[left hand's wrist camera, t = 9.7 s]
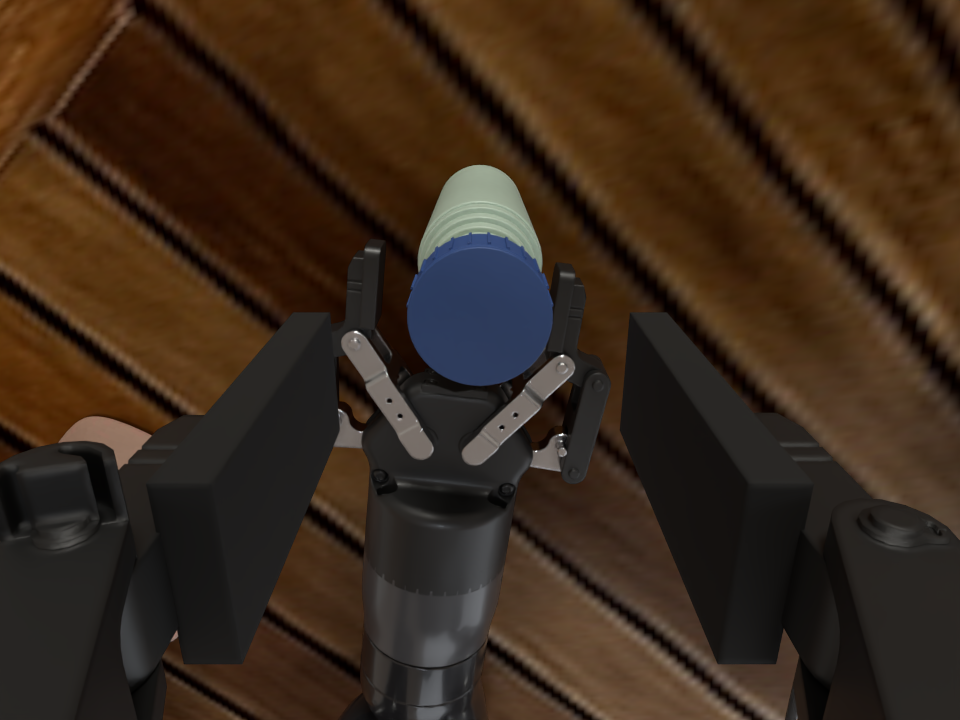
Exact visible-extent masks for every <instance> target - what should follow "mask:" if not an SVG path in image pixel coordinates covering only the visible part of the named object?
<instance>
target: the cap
mask: <svg viewBox="0 0 960 720" xmlns="http://www.w3.org/2000/svg"><path fill="white" fill-rule="evenodd" d="M547 289H549V286H548V283H547V280H546V278H545V275H544V273H543V274H542V273H541V271H540V269H539V266H538V263H537V260H536V259H535V258H534V259H533V258H532V257H531V256H530V255H529V254H528V253H527V252H526V251H525V249H524V247H523V246H521V247H520V246H518V245H517V244H515V243H514V242H512V241H510V240H508V237H505V238H503V237H500V236H496V235H491V234H490V232H487V234H472V232H470V233H469V235H464V236H460V237H457V238H455V239H454V237H452V238H451V240H450V241H448V242H446V243H444V244H443V245H442V246H440V247H438V246H437V247H435V251H434V252H433V253H432V254H431V255H430V256H429V257H428V258H427V260H426V259H424V260H423V262H422V265H421V268H420V271H419V273H418V275H417V274H416V275H415V277H414V280H413V283H412V286H411V290H412V291H411V294H410V297H409V300H408V303H407V307H408V310H407V324H408V329H409V333H410V337H411V340H412V342H413V345H414V347H415V348H416V350H417V352H418V354H419V355H420V356H421V358H422V359H423V360H424V361H425V362H426V363H427V364H428V365H429V366H430V367H431V368H432V369H433V370H435V371H436V372H437V373H439V374H440V375H442V376H444V377H446V378H448V379H450V380H452V381H455V382H458V383H462V384H467V385H475V386H485V385H493V384H499V383H502V382H505V381H508V380H510V379H512V378H514V377H516V376H518V375H520V374H521V373H523V372H524V371H525V370H527V369H528V368H529V367H530V366H531V365H532V364H533V363H534V362H535V361H536V360H537V359H538V357H539V356H540V355H541V353H542V352H543V350H544V348H545V346H546V345H547V342H548V339H549V337H550V333H551V329H552V324H553V311H552V307H553V302H552V299H551V296H550V294H549V291H548V290H547Z"/></svg>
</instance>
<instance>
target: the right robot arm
mask: <svg viewBox="0 0 960 720" xmlns="http://www.w3.org/2000/svg"><path fill="white" fill-rule="evenodd" d="M385 255H386V241H384V240H376V239H370V240H369V241H368V242H367V244H366V245H365V249H364V251H360V250H359V251H358V252H357V253H356V254H355V256H354V257H353V259H352V261H351V263H350V265H349V267H348V279H347V280H348V281H347V298H346V318H345V320H344V321H342V322H339V323H334V324H331V330H332V342H333V354H334V365H335V377H336V389H337V400H338V412H339V423H340V432H339V434H338V436H337V439H336V441H335V444H334V446H333V447H348V448H363V451H364V452H365V454H366V456H367V458H368V461H369V465H370V476H369V490H368V504H367V517H366V531H365V545H364V560H363V573H362V598H363V607H364V624H363V637H362V652H361V664H360V679H361V686H362V692H363V693H362V694H360V695H359V696H358V697H356V698H355V699H354V700H353V701H352V702H351V703H350V704H349V705H348V707H347V708H346V709H345V710H344V712H343V713H342V714H341V716H340V717H339V719H338V720H488V714H487V708H486V701H485V695H484V690H483V686H482V682H481V674H482V669H483V663H484V657H485V651H486V645H487V639H488V632H489V628H490V624H491V621H492V618H493V616H494V613H495V610H496V607H497V603H498V599H499V594H500V588H501V582H502V576H503V570H504V564H505V558H506V552H507V546H508V541H509V535H510V529H511V523H512V517H513V511H514V505H515V499H516V493H517V487H518V483H519V481H520V479H521V477H522V475H523V474H524V473H525V472H526V471H527V470H528V468H529V467H536V468H542V469H548V470H554V471H560V472H561V475H562V478H563V480H564V481H566V482H567V483H570V484H576V483H579V482H581V481H582V480H583V479H584V478H585V476H586V473H587V469H588V466H589V462H590V458H591V455H592V451H593V448H594V444H595V441H596V437H597V434H598V430H599V426H600V423H601V419H602V416H603V412H604V409H605V405H606V401H607V398H608V394H609V391H610V387H611V382H610V379H609V377H608V375H607V373H606V370H605V368H604V366H603V364H602V362H601V360H600V358H599V357H597V356H596V355H588V354H586V353H584V352H582V351H580V350H578V349H577V343H578V338H579V333H580V328H581V322H582V317H583V312H584V306H585V301H586V294H585V289H584V285H583V283H582V282H581V280H580V278H576V277H575V270H574V269H573V267H572V265H571V264H566V263H558V262H556V263H555V267H554V272H553V278H552V284H551V290H550V296H551V299H552V302H553V307H552V311H553V324H552V329H551V333H550V337H549V339H548V342H547V345H546V346H545V348H544V350H543V352H542V353H541V355H540V356H539V357H538V359H537V360H536V361H535V362H534V363H533V364H532V365H531V366H530V367H529V368H528V369H527V370H525V371H524V372H523V373H521V374H520V375H518V376H516V377H514V378H512V379H510V380H508V381H505V382H502V383H499V384H493V385H485V386H475V385H467V384H462V383H458V382H455V381H452V380H450V379H448V378H446V377H444V376H442V375H440V374H439V373H437V372H436V371H435V370H433V369H429V368H425V371H424V372H421V373H417V374H415V375H413V373H412V372H411V370H410V369H409V367H408V366H407V364H406V363H405V361H404V360H403V358H402V357H401V355H400V354H399V353H398V352H397V351H396V350H395V349H393V348H392V347H391V346H390V345H389V343H388V342H387V340H386V339H385V337H384V336H383V334H382V333H381V331H380V330H379V328H378V327H377V323H378V321H379V319H380V317H381V310H382V297H383V283H384V269H385ZM343 355H347V356H348V357H349V359H350V360H351V362H352V363H353V364H354V366H355V367H356V369H357V370H358V372H359V373H360V374H361V376H362V377H363V379H364V382H365V386H366V389H367V391H368V393H369V394H370V396H371V397H372V398H373V400H374V401H375V403H376V404H377V405H378V407H379V409H378V410H377V411H376V412H375V413H374V414H373V415H372V416H371V417H370V418H369V419H368V421H367V423H366V424H364V423H360V422H358V421H357V420H356V419H355V418H354V416H353V413H352V409H351V407H350V406H349V405H348V404H347V403H345V402H341V401H339V360H338V357H339V356H343ZM566 380H567V381H569V382H571V383H573V386H572V390H571V393H570V397H569V401H568V405H567V409H566V413H565V417H564V421H563V424H562V426H555V427H553V428H551V429H550V430H549V432H548V434H547V436H546V437H545V438H544V439H543V440H542V441H539V442H532V441H531V438H530V435H529V434H528V432H527V430H526V429H525V427H524V425H523V424H524V423H525V422H527V421H528V420H529V419H530V418H531V417H532V416H533V415H534V414H536V413H537V412H538V411H539V409H540V408H541V407H542V405H543V402H544V401H545V399H546V398H547V397H548V396H550V395H551V394H552V393H553V392H554V391H555V390H556V389H557V388H558V387H560V386H561V385H562V384H563V383H564V382H565V381H566ZM512 387H513V388H512Z"/></svg>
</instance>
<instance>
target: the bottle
mask: <svg viewBox="0 0 960 720" xmlns="http://www.w3.org/2000/svg"><path fill="white" fill-rule="evenodd" d="M470 232H472V234H487V232H490V234H491V235H496V236H500V237H503V238H505V237H508V240H510V241H512V242H514V243H515V244H517V245H518V246H520V247H521V246H523V247H524V249H525V251H526V252H527V253H528V254H529V255H530V256H531V257H532V258H533V259H534V258H535V259H536V260H537V263H538V266H539V269H540V271H541V272H542V253H541V247H540V244H539V241H538V238H537V236H536V233H535V231H534V228H533V226H532V224H531V221H530V219H529V216H528V214H527V211H526V209H525V206H524V204H523V201H522V199H521V196H520V194H519V191H518V189H517V187H516V185H515V184H514V182H513V181H512V180H511V179H510V178H509V177H508V176H507V175H506V174H505V173H503V172H502V171H500V170H498V169H496V168H494V167H491V166H486V165H474V166H469V167H466V168H464V169H462V170H460V171H458V172H457V173H455V174H454V175H453V176H452V177H451V178H450V179H449V180H448V181H447V182H446V184H445V185H444V187H443V189H442V191H441V194H440V196H439V199H438V201H437V204H436V206H435V209H434V211H433V214H432V216H431V219H430V221H429V224H428V226H427V228H426V231H425V233H424V236H423V238H422V241H421V244H420V248H419V253H418V271H420V268H421V265H422V262H423V260H424V259H426V260H427V258H428V257H429V256H430V255H431V254H432V253H433V252H434V251H435V247H437V246H438V247H440V246H442V245H443V244H444V243H446V242H448V241H450V240H451V238H452V237H454V239H455V238H457V237H460V236H464V235H469V233H470Z"/></svg>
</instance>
